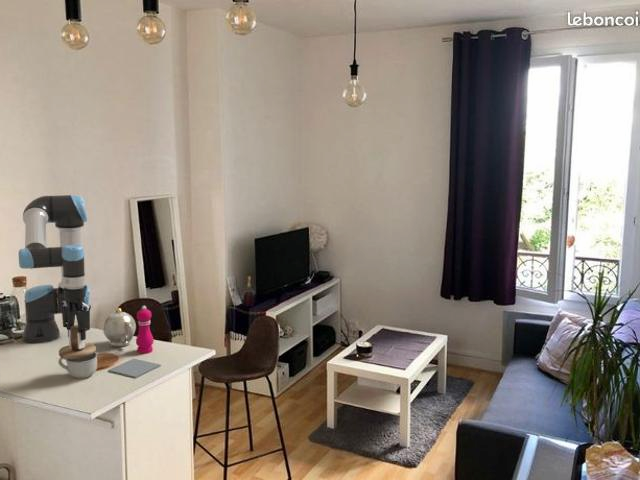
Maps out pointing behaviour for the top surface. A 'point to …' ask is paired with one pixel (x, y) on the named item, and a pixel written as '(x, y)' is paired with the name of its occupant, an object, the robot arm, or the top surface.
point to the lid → (76, 347)
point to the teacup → (80, 366)
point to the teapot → (119, 328)
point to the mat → (134, 368)
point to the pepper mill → (144, 332)
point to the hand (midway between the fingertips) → (77, 346)
